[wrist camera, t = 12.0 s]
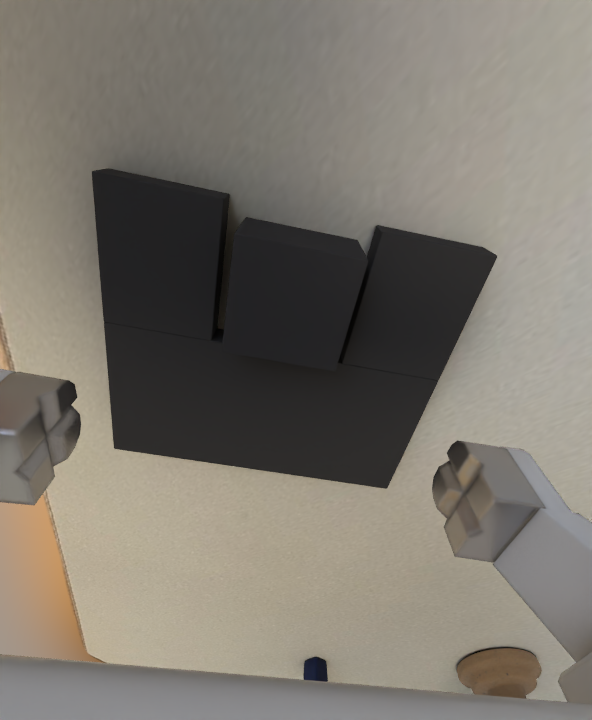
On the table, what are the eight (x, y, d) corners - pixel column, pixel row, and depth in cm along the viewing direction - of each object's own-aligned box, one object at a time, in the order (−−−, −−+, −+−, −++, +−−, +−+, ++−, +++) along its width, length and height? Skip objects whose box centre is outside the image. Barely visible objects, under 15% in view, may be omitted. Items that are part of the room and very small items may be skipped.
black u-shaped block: (123, 432, 25) (113, 449, 23) (107, 168, 17) (90, 170, 15) (382, 471, 26) (387, 489, 25) (484, 247, 18) (498, 255, 17)
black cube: (233, 320, 20) (221, 352, 17) (245, 216, 18) (233, 233, 15) (330, 338, 21) (335, 372, 18) (357, 240, 18) (368, 260, 15)
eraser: (314, 667, 43) (316, 751, 37) (301, 661, 42) (301, 745, 36) (328, 662, 42) (333, 746, 36) (315, 655, 41) (318, 740, 36)
